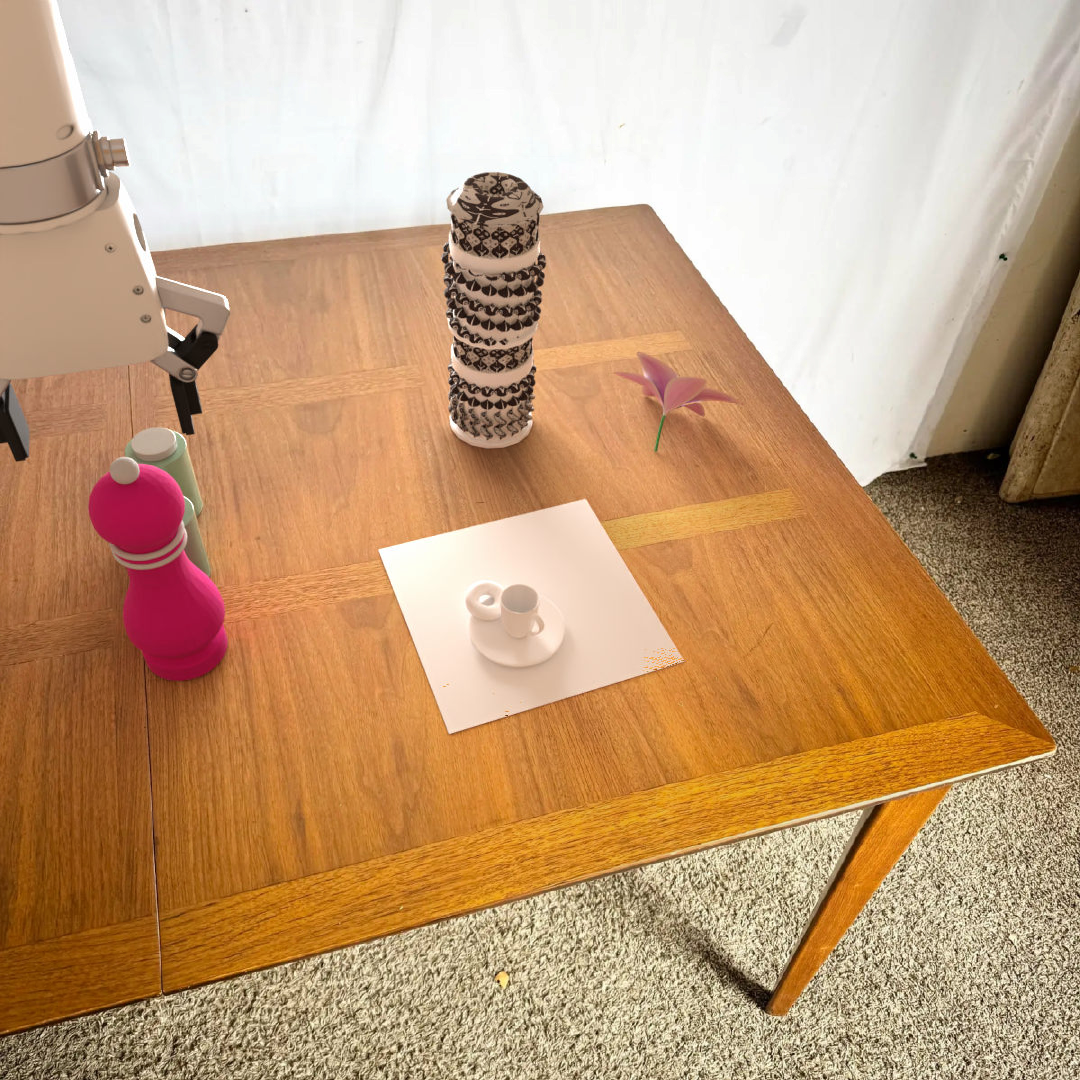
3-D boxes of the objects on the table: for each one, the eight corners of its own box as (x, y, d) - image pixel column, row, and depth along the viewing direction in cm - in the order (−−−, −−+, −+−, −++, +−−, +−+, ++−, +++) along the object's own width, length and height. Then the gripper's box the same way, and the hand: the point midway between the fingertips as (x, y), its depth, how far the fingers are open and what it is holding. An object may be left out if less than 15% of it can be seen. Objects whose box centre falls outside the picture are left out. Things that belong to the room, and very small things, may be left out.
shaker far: (139, 528, 85) (115, 460, 79) (151, 489, 88) (129, 421, 82) (197, 527, 85) (178, 460, 79) (207, 489, 89) (189, 421, 83)
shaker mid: (144, 597, 79) (118, 530, 74) (156, 553, 83) (132, 485, 77) (206, 596, 80) (185, 529, 74) (215, 552, 83) (196, 484, 77)
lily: (743, 461, 97) (763, 366, 94) (670, 467, 89) (689, 363, 86) (652, 434, 105) (668, 345, 102) (578, 437, 97) (593, 341, 94)
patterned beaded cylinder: (459, 458, 93) (456, 219, 75) (435, 401, 99) (427, 166, 81) (548, 442, 96) (566, 206, 78) (519, 387, 102) (530, 156, 84)
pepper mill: (236, 610, 79) (184, 420, 65) (232, 682, 74) (175, 494, 60) (144, 618, 78) (70, 428, 63) (133, 692, 73) (51, 504, 59)
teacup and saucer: (452, 600, 81) (451, 568, 78) (540, 577, 83) (542, 545, 80) (487, 682, 75) (488, 650, 72) (580, 654, 78) (584, 622, 75)
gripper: (193, 125, 52) (241, 378, 65) (-170, 150, 48) (-43, 418, 60) (208, 190, 48) (256, 449, 60) (-193, 225, 43) (-50, 499, 55)
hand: (107, 433), depth 60 cm, fingers open, 9 cm apart
